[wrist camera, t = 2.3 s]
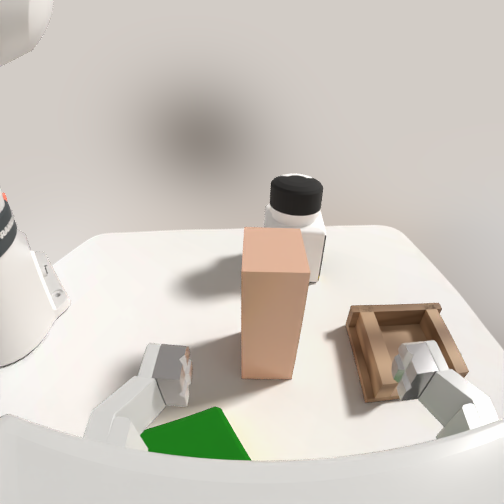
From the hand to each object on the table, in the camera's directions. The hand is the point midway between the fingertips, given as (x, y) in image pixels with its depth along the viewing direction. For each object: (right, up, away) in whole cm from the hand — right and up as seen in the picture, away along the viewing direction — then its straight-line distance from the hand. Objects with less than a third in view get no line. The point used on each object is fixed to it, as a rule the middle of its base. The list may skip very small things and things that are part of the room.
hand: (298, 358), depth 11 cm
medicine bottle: (+3, +2, +31) cm, 31 cm away
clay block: (0, -6, +19) cm, 19 cm away
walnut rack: (+14, -7, +18) cm, 23 cm away
